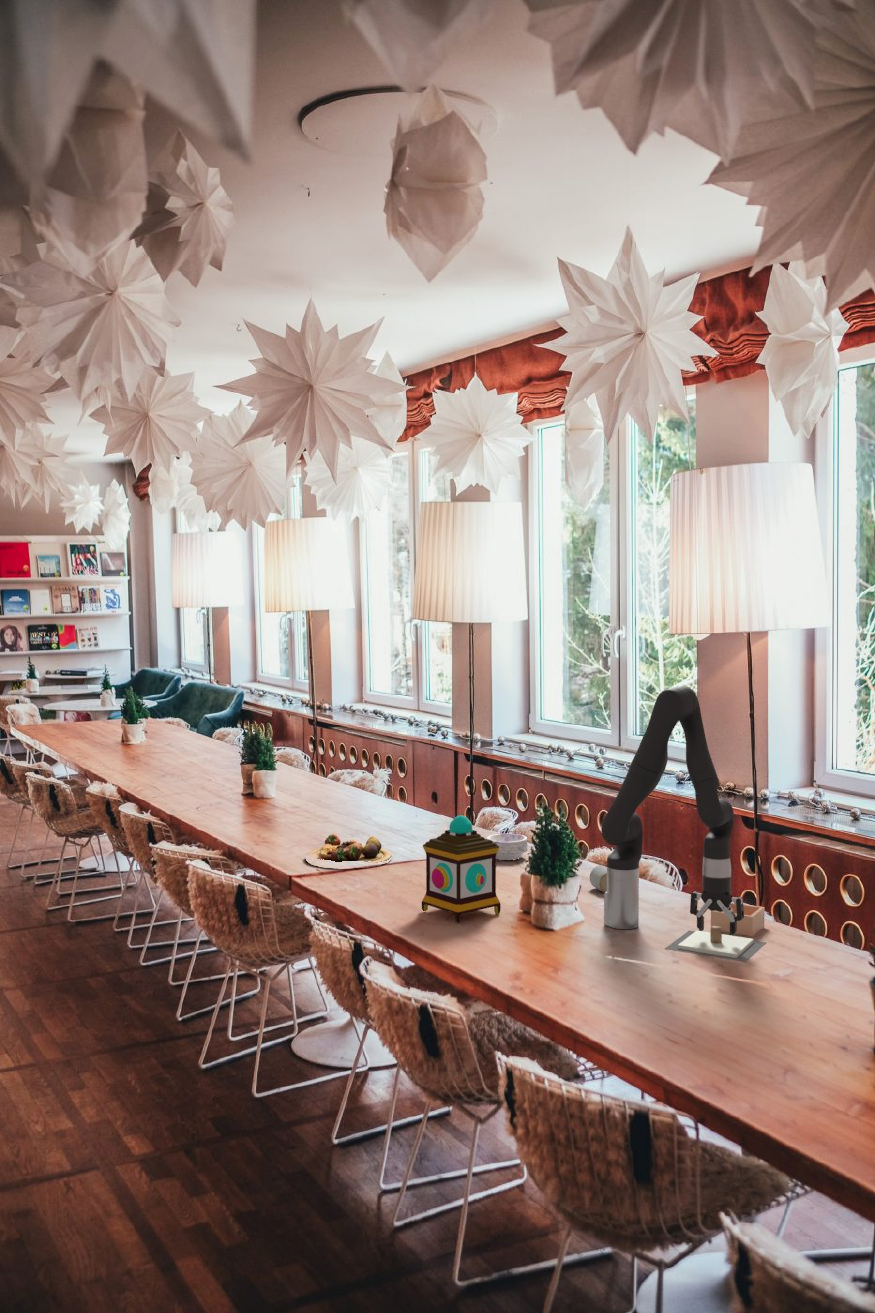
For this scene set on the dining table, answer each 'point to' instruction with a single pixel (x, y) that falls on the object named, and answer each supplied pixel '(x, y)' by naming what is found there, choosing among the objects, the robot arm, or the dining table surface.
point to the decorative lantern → (461, 870)
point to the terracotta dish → (744, 927)
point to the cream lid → (716, 943)
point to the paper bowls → (509, 845)
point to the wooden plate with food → (352, 850)
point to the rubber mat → (743, 957)
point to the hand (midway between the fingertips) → (716, 932)
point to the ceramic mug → (599, 878)
